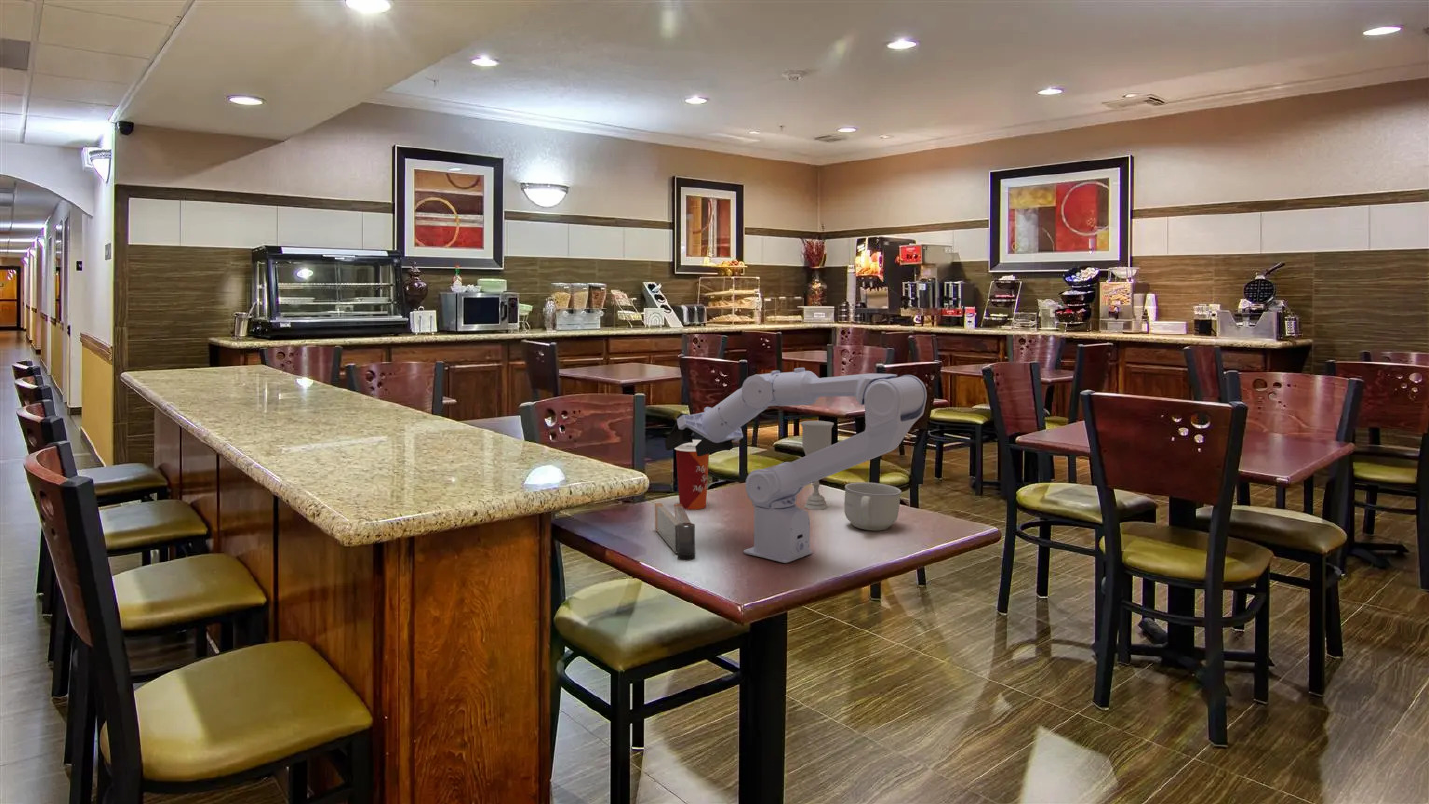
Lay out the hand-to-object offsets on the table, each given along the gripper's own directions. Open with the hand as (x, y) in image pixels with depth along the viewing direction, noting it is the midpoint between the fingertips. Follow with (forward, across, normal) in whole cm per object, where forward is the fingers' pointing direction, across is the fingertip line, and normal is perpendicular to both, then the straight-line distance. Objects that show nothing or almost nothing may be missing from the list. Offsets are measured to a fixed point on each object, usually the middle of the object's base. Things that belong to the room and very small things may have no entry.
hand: (682, 448), depth 171 cm
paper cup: (+19, -19, +1) cm, 27 cm away
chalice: (+2, -38, +7) cm, 38 cm away
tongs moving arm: (+7, +1, +16) cm, 17 cm away
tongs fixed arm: (+5, 0, +17) cm, 18 cm away
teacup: (-13, -32, +19) cm, 40 cm away
